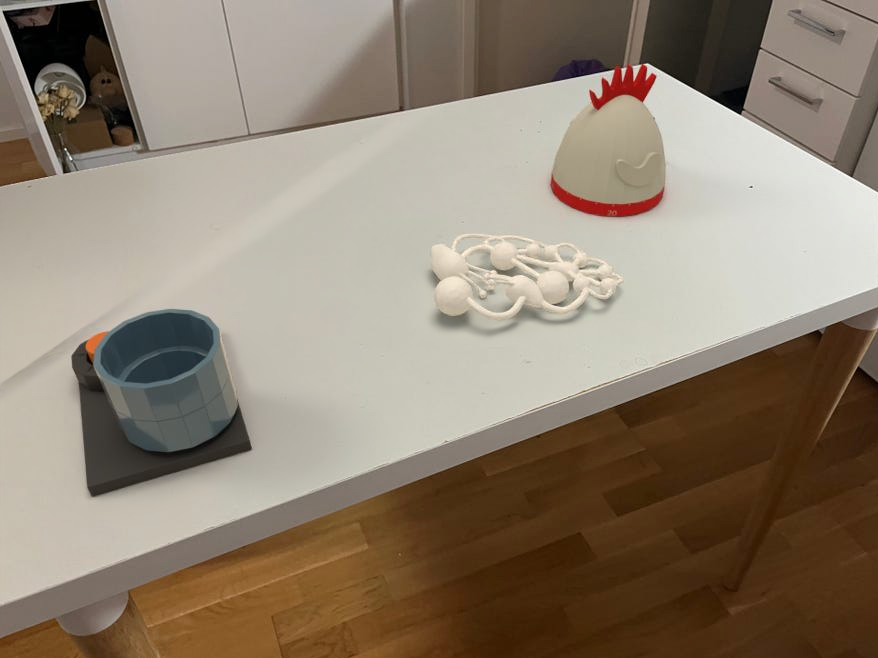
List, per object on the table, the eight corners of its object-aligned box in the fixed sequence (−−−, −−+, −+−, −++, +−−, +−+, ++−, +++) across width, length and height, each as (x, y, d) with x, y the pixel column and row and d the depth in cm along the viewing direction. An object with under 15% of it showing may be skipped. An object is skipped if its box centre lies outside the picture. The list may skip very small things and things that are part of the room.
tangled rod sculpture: (599, 253, 85) (605, 219, 82) (634, 325, 73) (642, 289, 71) (427, 256, 83) (427, 221, 80) (436, 331, 71) (436, 294, 69)
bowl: (98, 430, 60) (66, 361, 55) (180, 364, 66) (158, 296, 61) (183, 473, 57) (157, 403, 52) (261, 399, 63) (244, 331, 58)
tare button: (90, 349, 65) (84, 336, 64) (127, 341, 66) (121, 327, 65) (92, 371, 63) (86, 357, 62) (130, 362, 64) (125, 348, 63)
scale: (80, 365, 68) (69, 340, 66) (217, 332, 71) (210, 307, 69) (92, 497, 57) (78, 472, 55) (252, 450, 61) (245, 424, 59)
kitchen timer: (684, 204, 91) (713, 81, 81) (584, 225, 87) (601, 98, 77) (625, 154, 101) (644, 38, 90) (532, 171, 96) (541, 51, 86)
